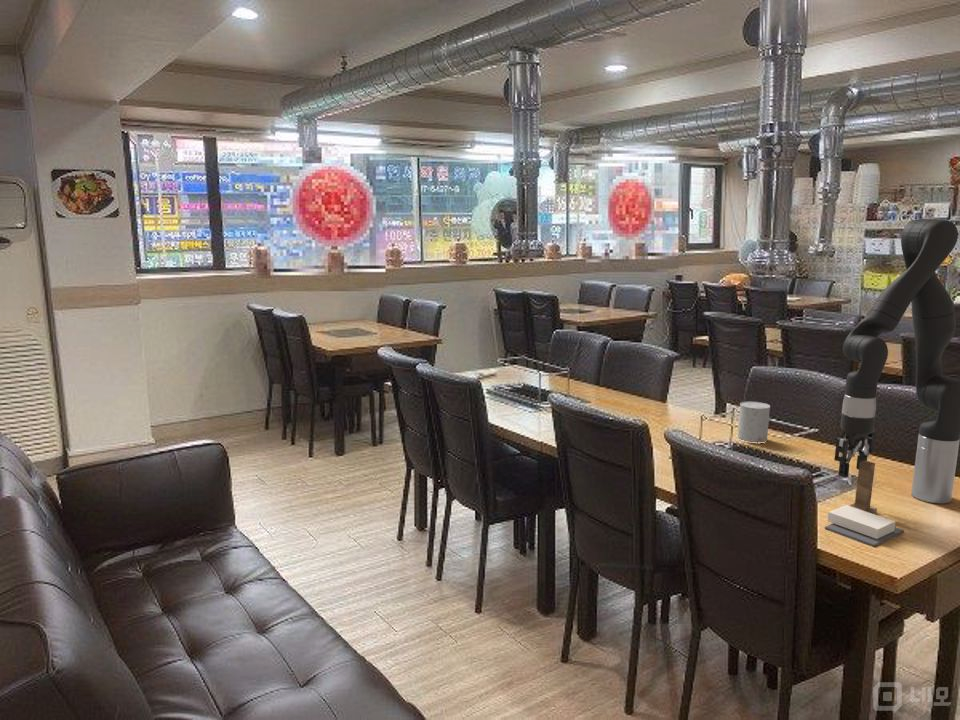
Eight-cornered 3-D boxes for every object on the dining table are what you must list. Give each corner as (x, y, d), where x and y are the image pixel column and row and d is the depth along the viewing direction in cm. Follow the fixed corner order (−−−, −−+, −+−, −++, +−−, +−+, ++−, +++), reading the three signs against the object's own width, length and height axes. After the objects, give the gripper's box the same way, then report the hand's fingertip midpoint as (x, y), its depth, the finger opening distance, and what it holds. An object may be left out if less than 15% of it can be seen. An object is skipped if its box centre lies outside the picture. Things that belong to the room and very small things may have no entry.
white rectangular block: (846, 505, 180) (895, 521, 170) (845, 515, 181) (894, 532, 171) (828, 512, 176) (877, 529, 166) (827, 522, 176) (876, 540, 166)
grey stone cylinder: (737, 442, 241) (740, 407, 239) (737, 434, 250) (739, 400, 248) (768, 445, 238) (771, 409, 236) (766, 437, 247) (769, 402, 245)
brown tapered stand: (857, 506, 188) (862, 458, 185) (876, 512, 184) (882, 463, 181) (846, 510, 185) (852, 461, 182) (866, 517, 181) (872, 467, 178)
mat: (855, 515, 182) (855, 513, 181) (904, 532, 172) (904, 530, 172) (824, 528, 174) (824, 526, 174) (873, 546, 164) (874, 544, 164)
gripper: (858, 405, 189) (852, 464, 192) (828, 413, 181) (822, 474, 184) (887, 411, 183) (881, 472, 186) (858, 420, 175) (851, 483, 178)
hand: (852, 473), depth 185 cm, fingers open, 8 cm apart
